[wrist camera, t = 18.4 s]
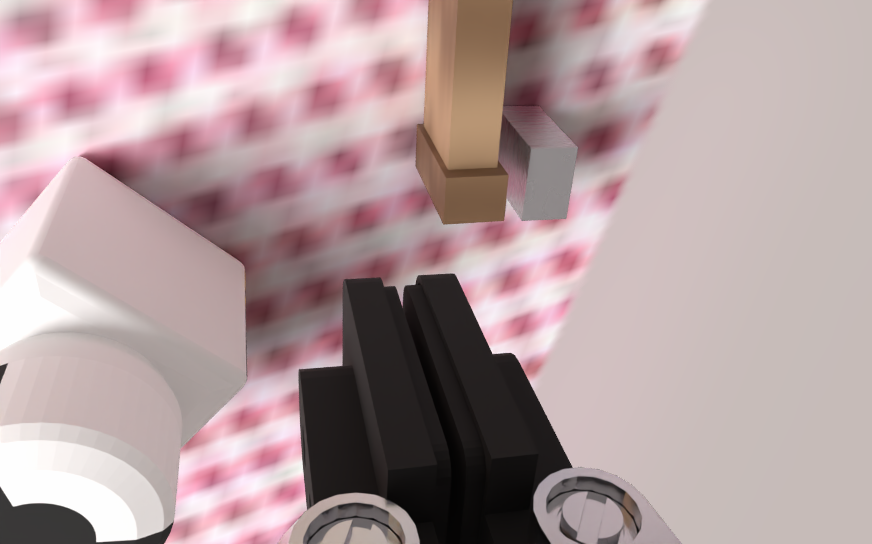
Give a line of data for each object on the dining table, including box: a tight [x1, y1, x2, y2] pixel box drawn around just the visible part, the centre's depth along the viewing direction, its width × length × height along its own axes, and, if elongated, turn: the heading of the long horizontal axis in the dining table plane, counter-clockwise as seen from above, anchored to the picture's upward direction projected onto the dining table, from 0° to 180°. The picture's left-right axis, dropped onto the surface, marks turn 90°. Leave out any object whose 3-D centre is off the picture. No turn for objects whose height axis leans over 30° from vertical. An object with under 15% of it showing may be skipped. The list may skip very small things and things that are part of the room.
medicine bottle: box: [0, 156, 247, 544], centre depth 23 cm, size 7×7×12 cm
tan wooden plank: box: [416, 0, 513, 225], centre depth 24 cm, size 11×2×5 cm, turn 177°
